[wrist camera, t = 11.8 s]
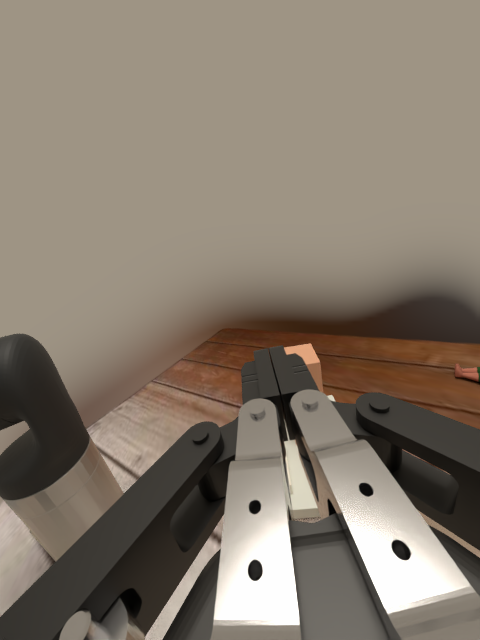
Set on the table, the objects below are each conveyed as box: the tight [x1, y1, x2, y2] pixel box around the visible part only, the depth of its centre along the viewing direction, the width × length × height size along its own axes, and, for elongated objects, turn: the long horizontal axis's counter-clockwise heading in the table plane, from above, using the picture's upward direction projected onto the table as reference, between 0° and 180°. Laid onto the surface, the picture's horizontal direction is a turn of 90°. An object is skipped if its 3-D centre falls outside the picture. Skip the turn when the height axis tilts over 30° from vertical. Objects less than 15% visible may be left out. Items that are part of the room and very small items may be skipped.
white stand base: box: [284, 395, 335, 519], centre depth 41 cm, size 14×21×4 cm, turn 177°
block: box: [284, 344, 323, 445], centre depth 41 cm, size 6×6×16 cm
